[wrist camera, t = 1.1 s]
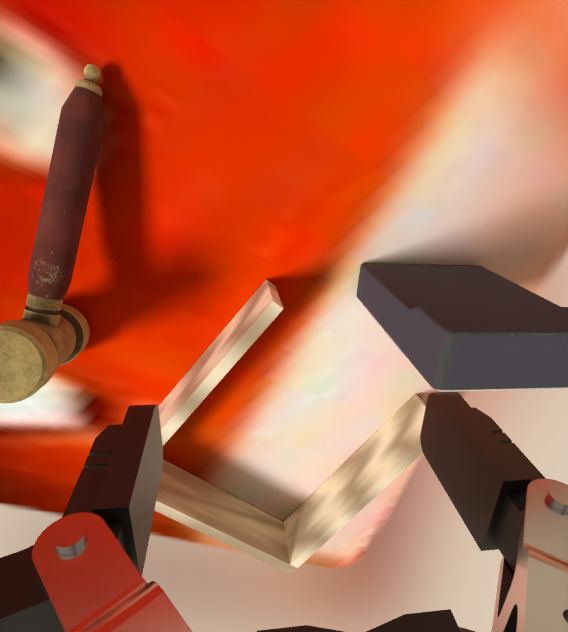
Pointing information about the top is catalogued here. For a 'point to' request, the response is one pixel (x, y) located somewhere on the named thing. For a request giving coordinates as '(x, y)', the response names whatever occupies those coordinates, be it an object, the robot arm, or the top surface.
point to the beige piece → (319, 508)
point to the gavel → (56, 252)
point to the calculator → (468, 326)
